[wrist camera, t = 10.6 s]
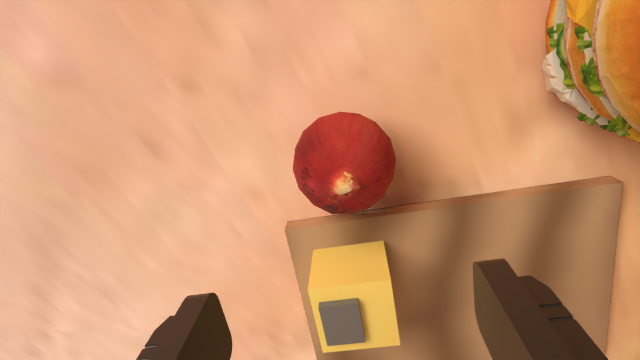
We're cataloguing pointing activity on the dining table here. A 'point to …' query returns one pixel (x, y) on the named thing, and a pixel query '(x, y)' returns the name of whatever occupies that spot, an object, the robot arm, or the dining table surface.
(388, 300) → the yellow cube
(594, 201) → the board
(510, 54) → the dining table surface
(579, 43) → the burger
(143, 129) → the dining table surface
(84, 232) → the dining table surface
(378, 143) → the onion
